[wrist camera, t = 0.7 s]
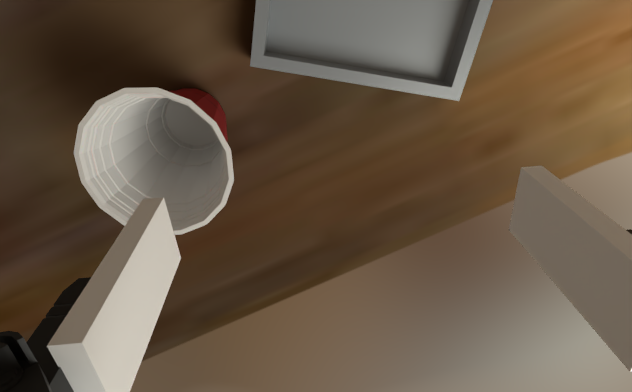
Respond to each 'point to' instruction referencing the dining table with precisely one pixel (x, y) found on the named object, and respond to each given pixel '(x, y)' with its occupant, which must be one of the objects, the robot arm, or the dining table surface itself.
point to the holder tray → (372, 41)
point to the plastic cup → (156, 154)
